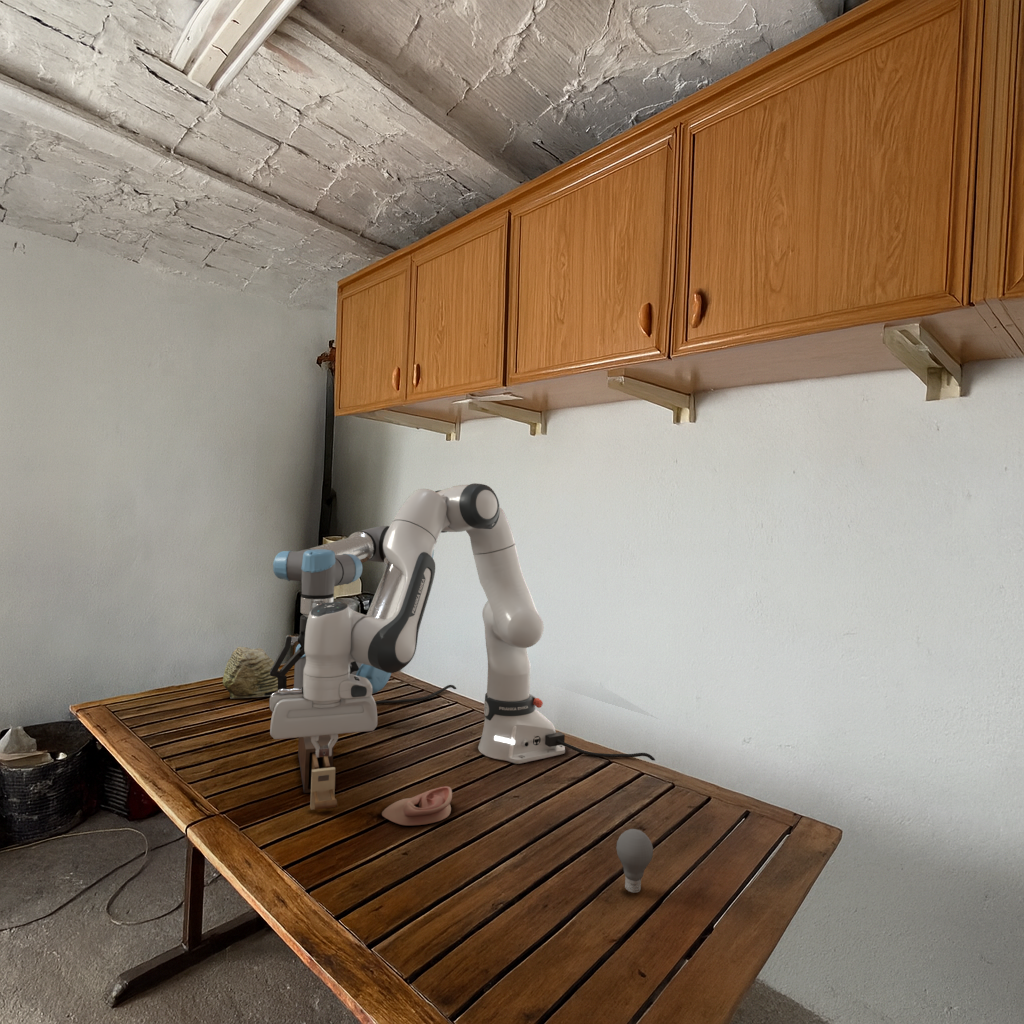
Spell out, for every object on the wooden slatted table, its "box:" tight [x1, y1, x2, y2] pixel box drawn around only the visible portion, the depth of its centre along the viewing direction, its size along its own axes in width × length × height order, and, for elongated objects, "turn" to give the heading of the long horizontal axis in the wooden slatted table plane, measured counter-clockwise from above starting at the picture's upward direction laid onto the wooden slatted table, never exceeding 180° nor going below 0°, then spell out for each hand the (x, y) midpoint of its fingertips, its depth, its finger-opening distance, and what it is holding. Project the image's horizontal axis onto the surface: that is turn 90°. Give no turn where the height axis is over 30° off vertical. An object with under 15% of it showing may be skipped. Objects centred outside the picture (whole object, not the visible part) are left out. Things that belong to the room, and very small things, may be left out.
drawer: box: [309, 752, 338, 811], centre depth 134 cm, size 26×4×8 cm, turn 22°
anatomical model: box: [381, 785, 453, 827], centre depth 129 cm, size 13×4×12 cm
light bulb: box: [615, 828, 654, 894], centre depth 106 cm, size 6×6×10 cm
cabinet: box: [297, 735, 334, 794], centre depth 146 cm, size 22×6×10 cm, turn 22°
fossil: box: [222, 646, 288, 699], centre depth 198 cm, size 9×18×15 cm, turn 132°
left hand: (314, 702), depth 152 cm, fingers open, 13 cm apart
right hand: (323, 755), depth 125 cm, fingers closed
